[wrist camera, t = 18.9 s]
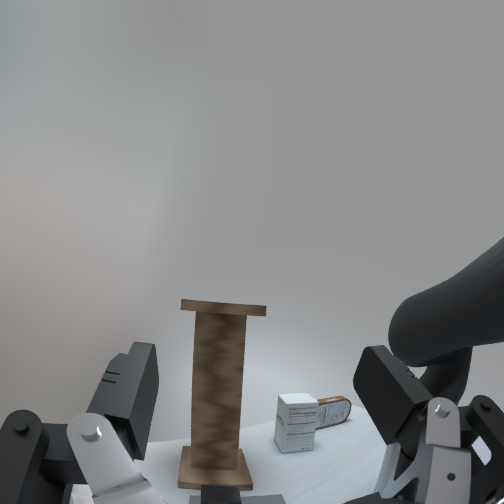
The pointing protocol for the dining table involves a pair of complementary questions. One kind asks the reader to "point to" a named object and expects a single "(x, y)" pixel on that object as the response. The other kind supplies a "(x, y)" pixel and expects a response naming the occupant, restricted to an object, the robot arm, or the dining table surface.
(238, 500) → the steel bar
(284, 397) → the supplement box
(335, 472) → the dining table surface
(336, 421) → the tin
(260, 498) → the charcoal mat
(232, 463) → the walnut shelf stand
